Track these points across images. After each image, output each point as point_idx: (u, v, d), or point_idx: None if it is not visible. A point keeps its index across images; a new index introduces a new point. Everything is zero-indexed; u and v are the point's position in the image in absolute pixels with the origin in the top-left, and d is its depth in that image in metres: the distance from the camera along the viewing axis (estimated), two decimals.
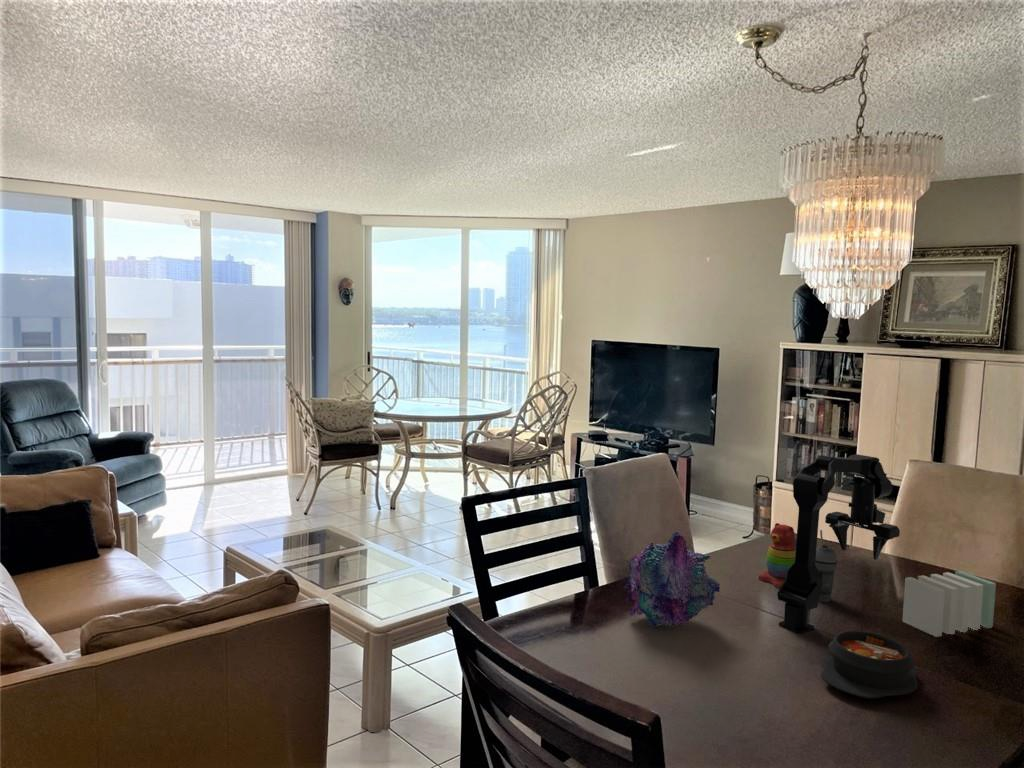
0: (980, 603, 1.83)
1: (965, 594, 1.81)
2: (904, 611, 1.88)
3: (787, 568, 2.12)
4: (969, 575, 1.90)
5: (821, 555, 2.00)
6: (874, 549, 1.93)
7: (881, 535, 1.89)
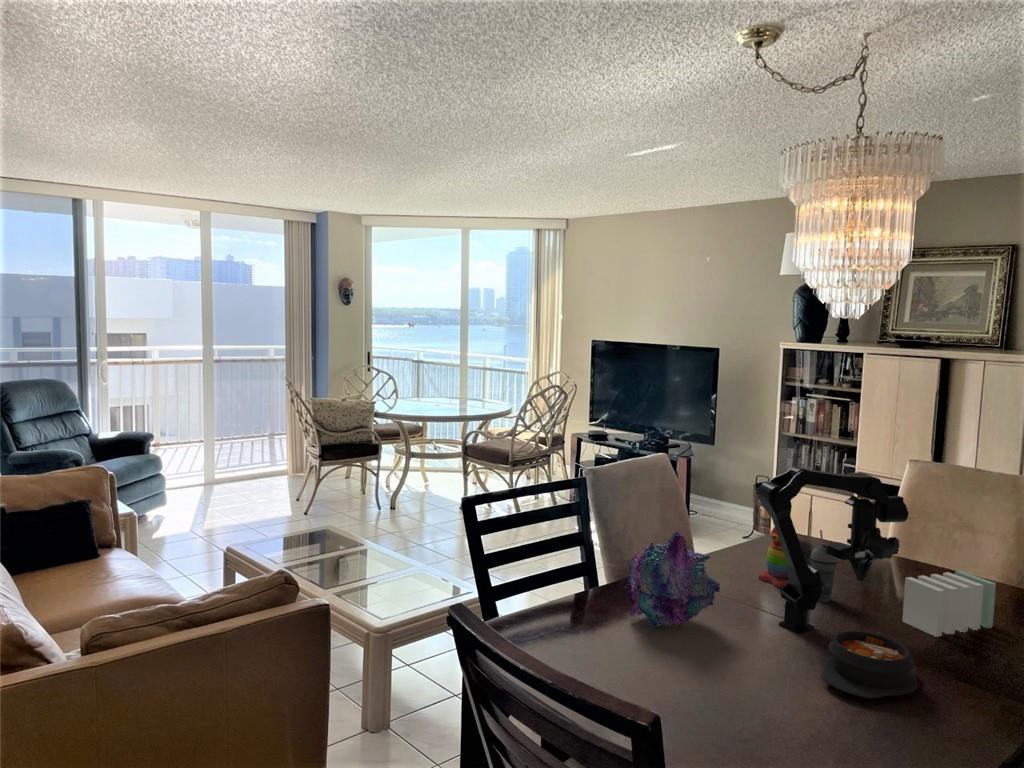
0: (980, 603, 1.83)
1: (965, 594, 1.81)
2: (904, 611, 1.88)
3: (787, 568, 2.12)
4: (969, 575, 1.90)
5: (821, 555, 2.00)
6: None
7: None
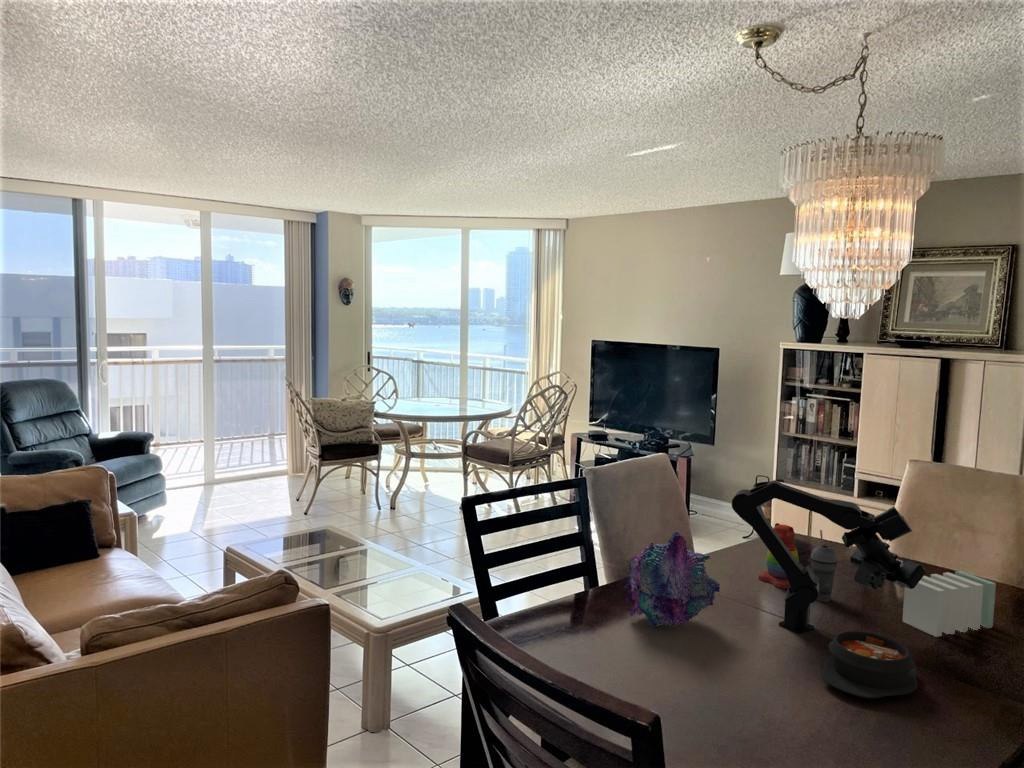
0: (980, 603, 1.83)
1: (965, 594, 1.81)
2: (904, 611, 1.88)
3: None
4: (969, 575, 1.90)
5: (821, 555, 2.00)
6: None
7: None
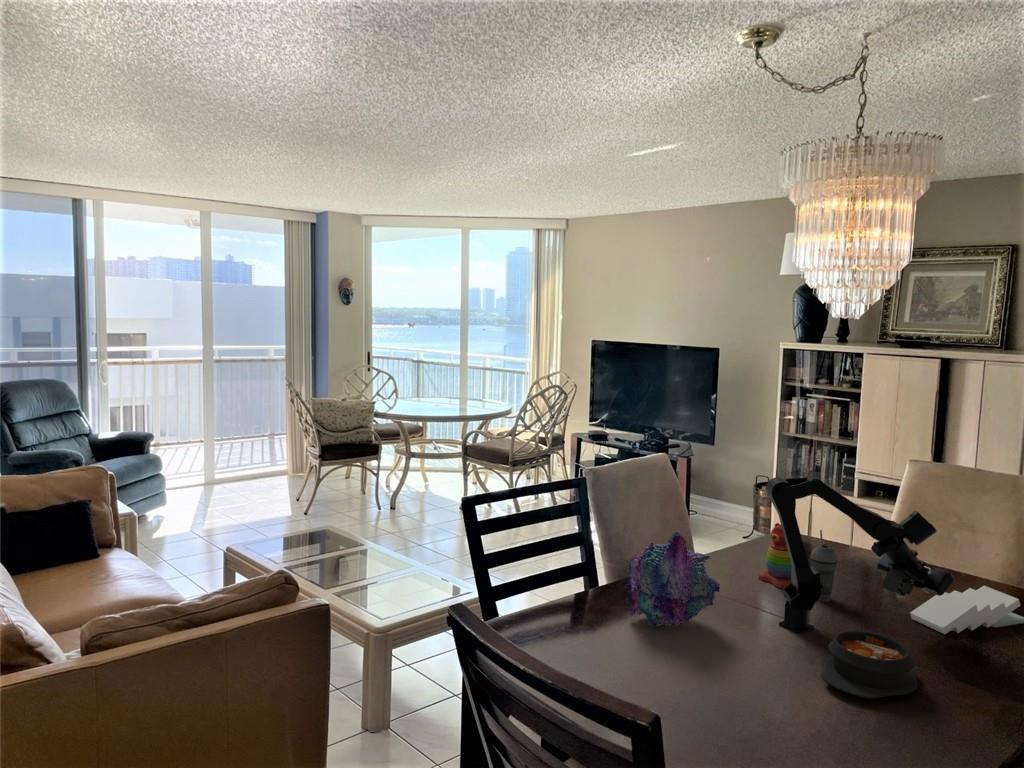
0: (1006, 612, 1.86)
1: (999, 606, 1.85)
2: (919, 608, 1.90)
3: (787, 568, 2.12)
4: None
5: (821, 555, 2.00)
6: None
7: None
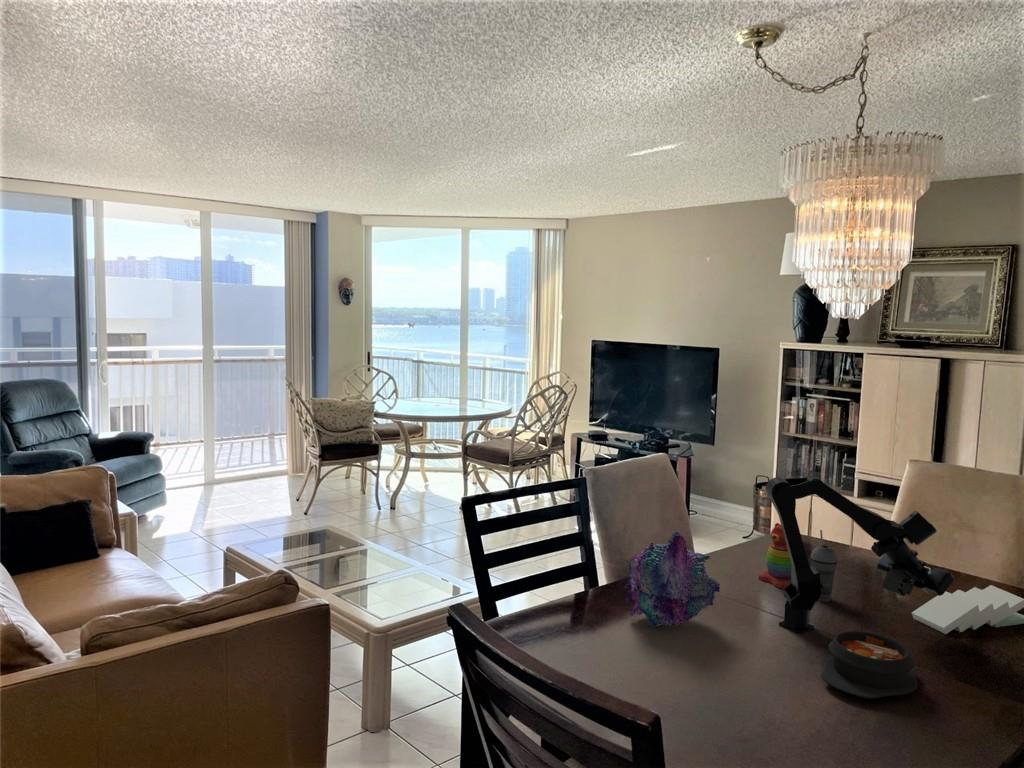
0: (1011, 612, 1.86)
1: (1002, 606, 1.85)
2: (920, 608, 1.90)
3: (787, 568, 2.12)
4: None
5: (821, 555, 2.00)
6: None
7: None
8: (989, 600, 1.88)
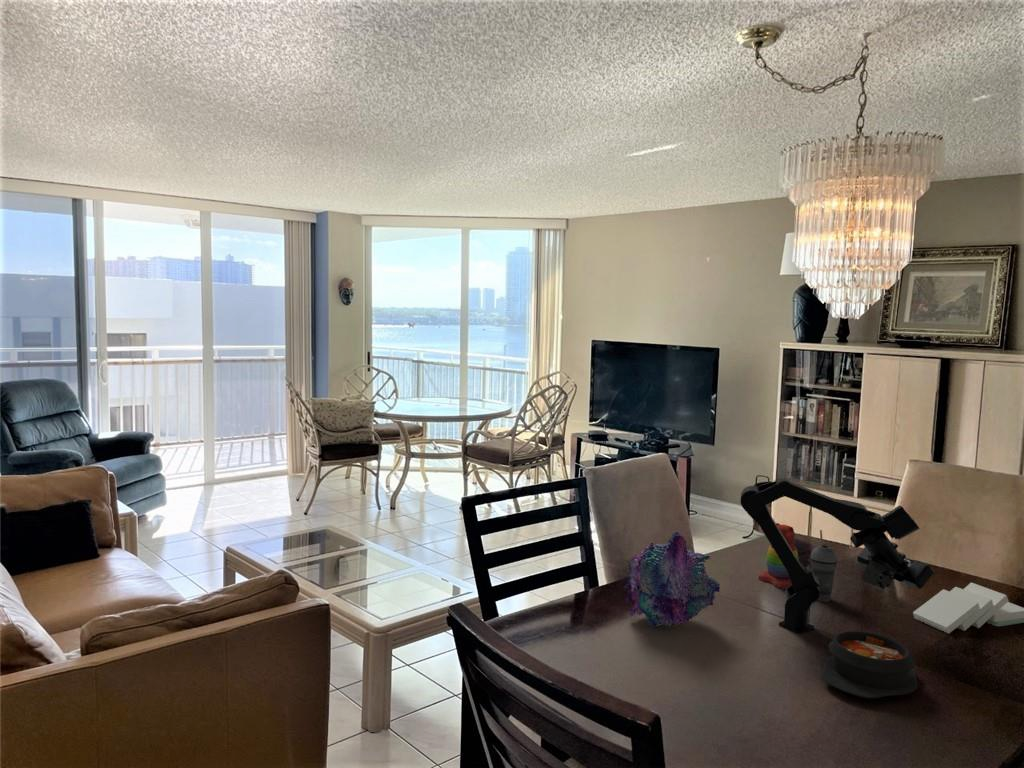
0: (1015, 617, 1.88)
1: (1001, 600, 1.87)
2: (921, 607, 1.90)
3: None
4: None
5: (821, 555, 2.00)
6: None
7: None
8: (988, 595, 1.90)
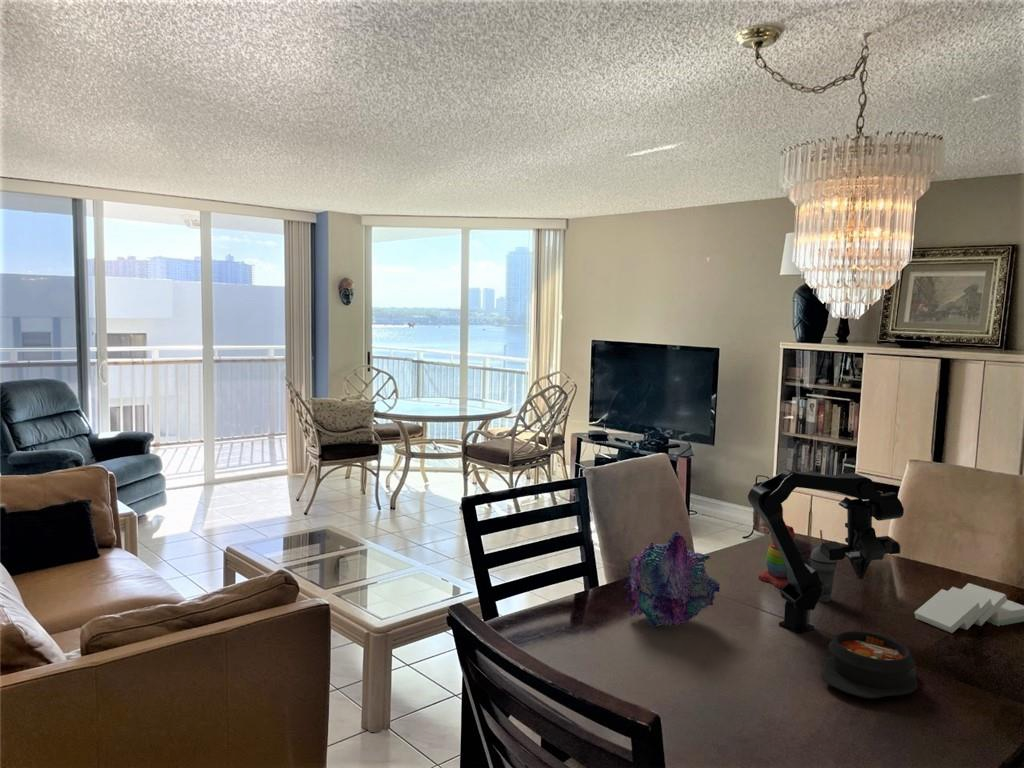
0: (1016, 615, 1.90)
1: (1001, 599, 1.89)
2: (922, 607, 1.91)
3: None
4: None
5: (821, 555, 2.00)
6: None
7: None
8: (987, 594, 1.91)
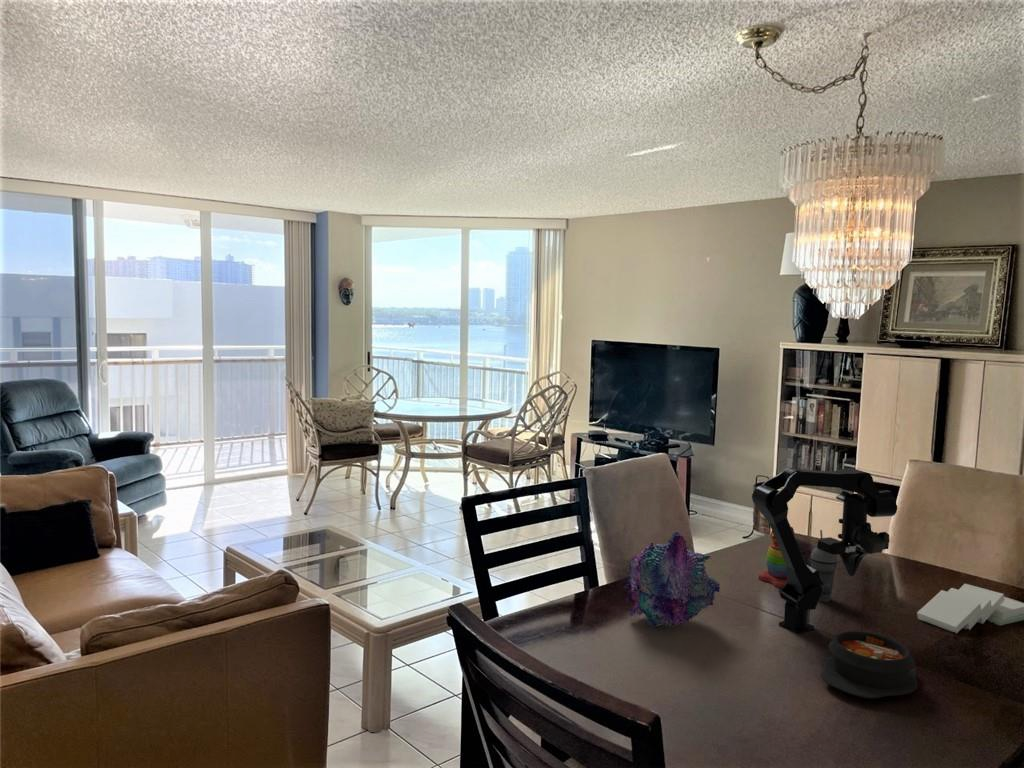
0: (1018, 613, 1.92)
1: (1000, 598, 1.91)
2: (924, 607, 1.90)
3: None
4: None
5: (821, 555, 2.00)
6: None
7: None
8: (985, 594, 1.94)
